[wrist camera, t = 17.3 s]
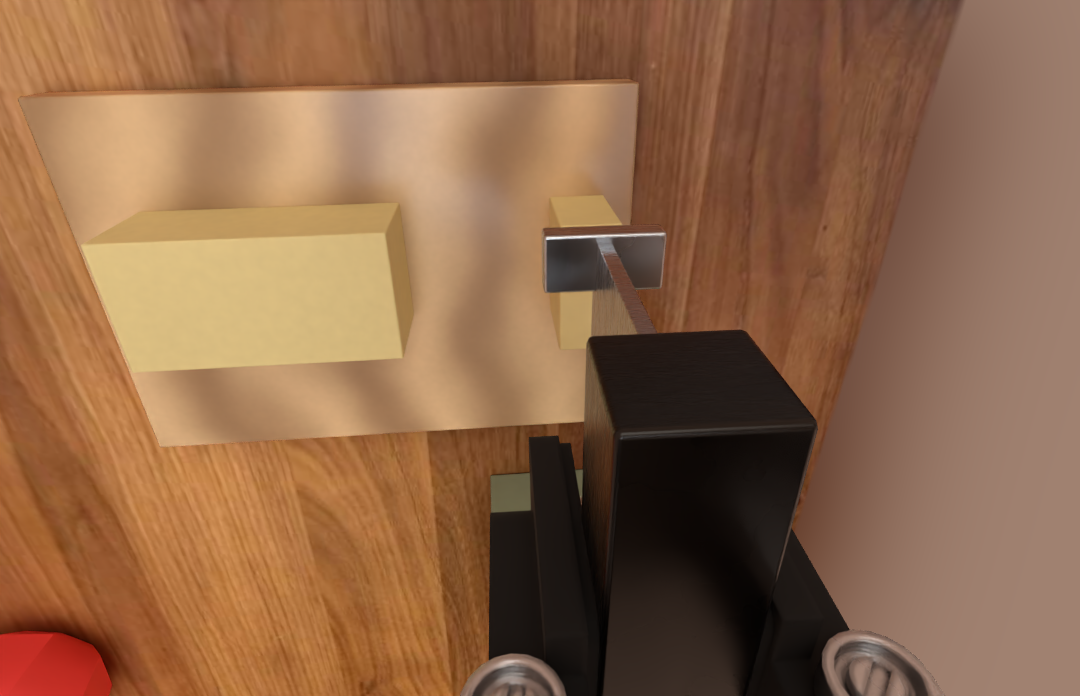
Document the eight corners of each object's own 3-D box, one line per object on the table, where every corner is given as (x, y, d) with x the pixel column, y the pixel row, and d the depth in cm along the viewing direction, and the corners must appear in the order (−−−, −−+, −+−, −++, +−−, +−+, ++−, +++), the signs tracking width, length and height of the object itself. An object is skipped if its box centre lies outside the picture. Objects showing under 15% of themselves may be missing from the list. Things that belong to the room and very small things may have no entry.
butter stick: (399, 202, 21) (385, 232, 18) (414, 314, 24) (403, 359, 20) (138, 211, 21) (78, 244, 18) (178, 326, 23) (131, 373, 20)
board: (630, 78, 21) (640, 82, 20) (612, 401, 28) (619, 420, 27) (45, 92, 20) (15, 97, 19) (175, 427, 27) (159, 448, 26)
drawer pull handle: (661, 207, 12) (844, 422, 6) (632, 533, 16) (717, 853, 10) (541, 211, 12) (592, 435, 6) (545, 538, 16) (576, 864, 10)
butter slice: (603, 194, 22) (622, 223, 19) (599, 305, 24) (616, 348, 21) (549, 196, 22) (559, 225, 19) (549, 308, 24) (559, 350, 21)
